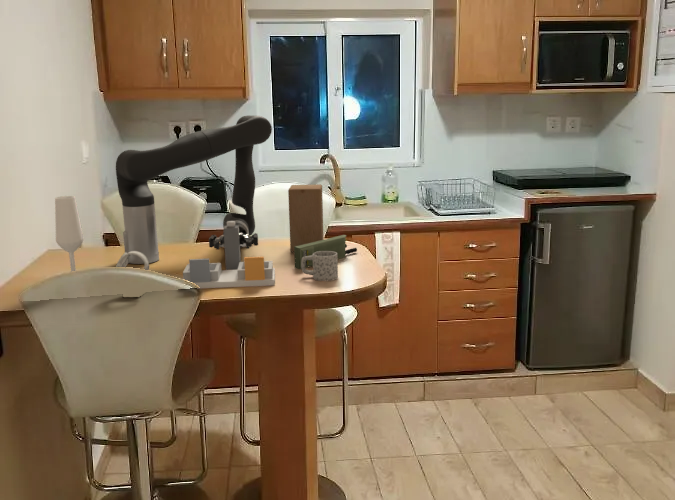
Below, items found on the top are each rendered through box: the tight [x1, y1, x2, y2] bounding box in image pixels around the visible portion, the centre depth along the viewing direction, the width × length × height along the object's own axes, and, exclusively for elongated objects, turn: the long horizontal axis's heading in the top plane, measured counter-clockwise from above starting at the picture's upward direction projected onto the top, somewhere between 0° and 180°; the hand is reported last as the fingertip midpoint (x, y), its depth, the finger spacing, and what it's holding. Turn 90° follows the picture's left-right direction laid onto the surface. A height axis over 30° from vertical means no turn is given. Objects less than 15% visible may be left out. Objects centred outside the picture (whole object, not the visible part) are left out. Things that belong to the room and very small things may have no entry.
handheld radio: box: [293, 234, 358, 270], centre depth 200 cm, size 7×3×25 cm
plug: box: [223, 221, 242, 270], centre depth 192 cm, size 4×4×14 cm
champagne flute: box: [54, 195, 85, 273], centre depth 174 cm, size 7×7×24 cm
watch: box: [115, 251, 150, 271], centre depth 169 cm, size 6×8×11 cm
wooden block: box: [287, 183, 324, 253], centre depth 214 cm, size 10×10×20 cm
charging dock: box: [182, 256, 276, 289], centre depth 179 cm, size 24×12×8 cm, turn 95°
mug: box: [301, 251, 339, 282], centre depth 181 cm, size 10×7×7 cm, turn 77°
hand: (232, 245), depth 192 cm, fingers open, 8 cm apart
